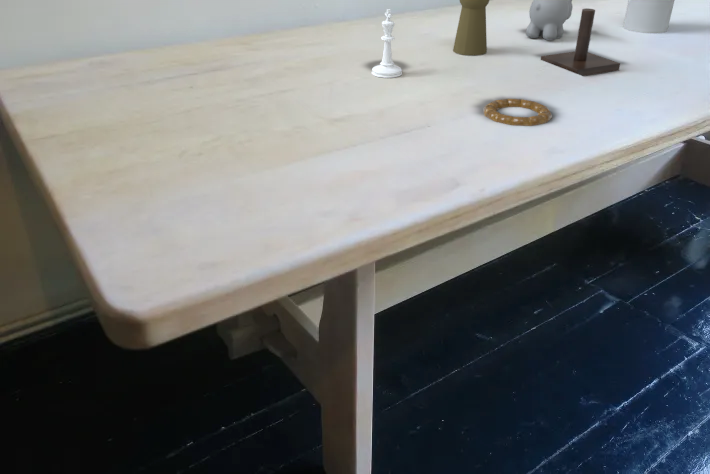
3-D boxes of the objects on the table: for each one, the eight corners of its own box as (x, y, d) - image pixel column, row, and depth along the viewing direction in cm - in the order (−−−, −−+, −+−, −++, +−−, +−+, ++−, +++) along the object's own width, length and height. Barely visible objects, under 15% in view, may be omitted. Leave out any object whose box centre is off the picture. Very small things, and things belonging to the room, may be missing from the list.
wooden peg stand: (619, 70, 109) (630, 12, 104) (576, 77, 106) (586, 17, 101) (581, 57, 116) (590, 2, 111) (539, 63, 113) (548, 6, 108)
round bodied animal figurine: (583, 33, 131) (591, -12, 127) (551, 44, 124) (559, -4, 119) (551, 27, 135) (557, -17, 131) (518, 37, 128) (524, -9, 124)
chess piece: (379, 79, 104) (381, 13, 99) (366, 71, 108) (367, 7, 103) (407, 75, 106) (410, 11, 101) (393, 67, 110) (395, 5, 105)
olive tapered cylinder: (466, 45, 123) (472, -18, 117) (493, 51, 119) (500, -14, 114) (446, 50, 119) (450, -14, 114) (473, 57, 116) (479, -9, 110)
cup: (669, 33, 131) (684, -32, 125) (661, 41, 125) (677, -26, 119) (627, 27, 135) (640, -36, 129) (617, 36, 129) (630, -30, 123)
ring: (564, 125, 87) (566, 113, 87) (509, 135, 84) (511, 123, 83) (522, 104, 94) (523, 93, 93) (470, 113, 91) (471, 102, 90)
